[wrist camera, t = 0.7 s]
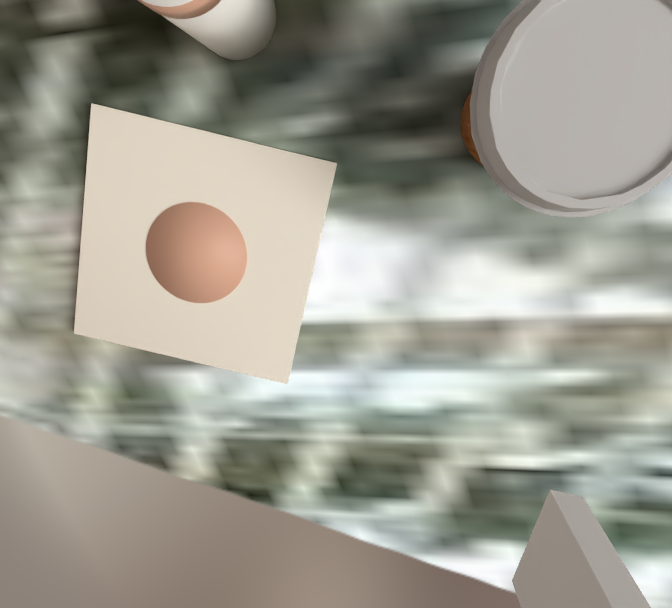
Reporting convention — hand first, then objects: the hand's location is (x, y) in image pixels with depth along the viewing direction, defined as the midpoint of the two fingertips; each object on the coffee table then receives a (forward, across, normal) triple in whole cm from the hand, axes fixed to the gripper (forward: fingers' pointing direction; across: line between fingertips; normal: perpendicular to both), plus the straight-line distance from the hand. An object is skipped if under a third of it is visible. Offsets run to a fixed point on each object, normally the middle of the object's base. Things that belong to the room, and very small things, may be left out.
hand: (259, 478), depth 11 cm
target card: (+23, -9, -2) cm, 25 cm away
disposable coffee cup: (+24, +9, +11) cm, 28 cm away
